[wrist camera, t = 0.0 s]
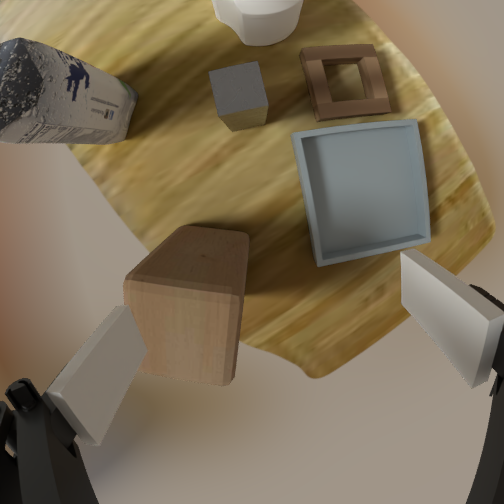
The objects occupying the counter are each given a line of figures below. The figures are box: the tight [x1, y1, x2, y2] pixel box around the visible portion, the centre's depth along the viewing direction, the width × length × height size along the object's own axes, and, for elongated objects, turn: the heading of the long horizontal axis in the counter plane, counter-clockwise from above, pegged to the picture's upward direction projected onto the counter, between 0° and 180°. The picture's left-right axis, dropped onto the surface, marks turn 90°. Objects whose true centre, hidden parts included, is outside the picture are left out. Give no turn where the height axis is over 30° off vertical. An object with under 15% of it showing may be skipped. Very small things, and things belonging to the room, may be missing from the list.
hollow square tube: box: [299, 44, 392, 122], centre depth 33 cm, size 10×10×3 cm
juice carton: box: [0, 38, 138, 144], centre depth 23 cm, size 9×10×27 cm
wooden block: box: [123, 225, 250, 386], centre depth 33 cm, size 10×10×20 cm
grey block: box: [208, 61, 269, 132], centre depth 29 cm, size 4×4×14 cm
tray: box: [291, 119, 431, 267], centre depth 37 cm, size 18×18×3 cm
